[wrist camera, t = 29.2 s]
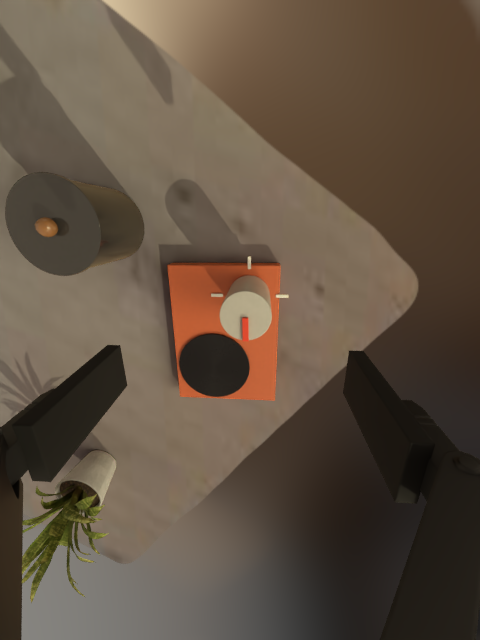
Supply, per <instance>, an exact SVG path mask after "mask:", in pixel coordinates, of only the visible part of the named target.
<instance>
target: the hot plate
mask: <svg viewBox="0 0 480 640" xmlns="http://www.w3.org/2000/svg"><path fill="white" fill-rule="evenodd" d="M167 266H168V277H169V287H170V297H171V307H172V318H173V328H174V338H175V348H176V359H177V369H178V379H179V390H180V397H204V398H228V399H252V400H275V385H276V362H277V338H278V314H279V298H288V295H282V294H279V291H280V267H281V266H280V263H251V256H248V263H171V264H169V265H167ZM247 275H251V276H256V277H258V278H260V279H262V280H263V281H264V282H265V283H266V285H267V286H268V288H269V292H270V302H271V312H272V320H271V324H270V326H269V328H268V330H267V331H266V332H265V333H264V334H263V335H262V336H260V337H258V338H256V339H253V340H249V341H243V340H239V339H236V338H234V337H232V336H230V335H229V334H228V333H227V332H226V331H225V330H224V328H223V327H222V325H221V322H220V308H221V306H222V304H223V302H224V299H225V297H226V295H227V293H228V291H229V289H230V287H231V285H232V284H233V283H234V281H235V280H237V279H238V278H240V277H242V276H247ZM210 333H214V334H221V335H225V336H227V337H230V338H232V339H233V340H235V341H236V342H237V343H239V344H240V345H241V346H242V348H243V349H244V350H245V352H246V354H247V356H248V359H249V364H250V370H249V376H248V378H247V381H246V382H245V384H244V385H243V386H242V387H241V388H240V389H239V390H238V391H236V392H235V393H233V394H230V395H227V396H223V397H211V396H206V395H203V394H201V393H199V392H197V391H195V390H194V389H192V388H191V387H190V386H189V385H188V384H187V383H186V381H185V380H184V378H183V377H182V374H181V371H180V367H179V359H180V355H181V352H182V350H183V348H184V347H185V345H186V344H187V343H188V342H189V341H191V340H192V339H193V338H195V337H197V336H200V335H203V334H210Z"/></svg>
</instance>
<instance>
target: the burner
mask: <svg viewBox="0 0 480 640" xmlns="http://www.w3.org/2000/svg"><path fill="white" fill-rule="evenodd" d="M179 367H180V371H181V374H182V377H183V378H184V380H185V381H186V383H187V384H188V385H189V386H190V387H191V388H192V389H194V390H195V391H197V392H199V393H201V394H203V395H206V396H211V397H223V396H227V395H230V394H233V393H235V392H236V391H238V390H239V389H240V388H241V387H242V386H243V385H244V384H245V382H246V381H247V378H248V376H249V370H250V364H249V359H248V356H247V354H246V352H245V350H244V349H243V348H242V346H241V345H240V344H239V343H237V342H236V341H235V340H233V339H232V338H230V337H227V336H225V335H221V334H214V333H210V334H203V335H200V336H197V337H195V338H193V339H192V340H191V341H189V342H188V343H187V344H186V345H185V347H184V348H183V350H182V352H181V355H180V359H179Z"/></svg>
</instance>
